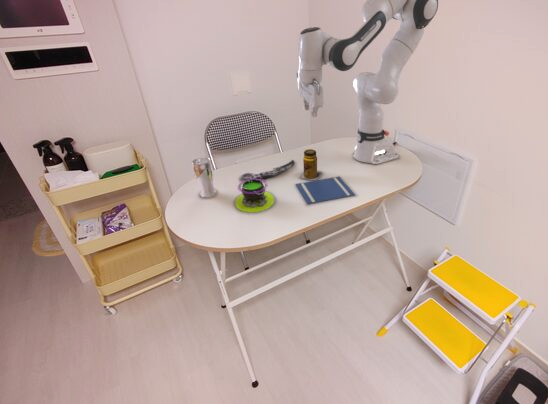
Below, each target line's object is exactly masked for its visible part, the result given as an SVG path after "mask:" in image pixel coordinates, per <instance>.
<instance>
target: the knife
mask: <svg viewBox="0 0 548 404" xmlns="http://www.w3.org/2000/svg"><path fill="white" fill-rule="evenodd" d="M293 166H295V160H293V159H292V160H290V161H289V162H287V163H286V164H283V165H281V166H277V167H273V170H268V171H262V172H259V173H255V174H254V173H252V172H246V173H243V174H241V175H240V179H241V181H242V180H243V181H245V180H248V181H249V180H250V179H255V180H256V179H257V180H258V179H260V180H263V179H267V178H270V177H272V178H273V177H275V176H277V175H278V174H281V173H284V172H285V171H286V170H287V169H289V168H293ZM251 174H252V175H251ZM253 174H254V175H253ZM247 176H249V177H247ZM259 176H260V177H259ZM245 177H246V178H245ZM256 177H257V178H256ZM243 178H244V179H243Z"/></svg>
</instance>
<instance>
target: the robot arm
mask: <svg viewBox="0 0 548 404" xmlns="http://www.w3.org/2000/svg"><path fill="white" fill-rule="evenodd" d="M361 7H362V8H361V18H362V21H363V24H362V25H361V26H360V27H359V29H357V31H355V32H354V33H353V35H351V36H350V37H347V38H337V37H334V36H331V35H330V34H327V33H326V32H324V31H323V30H322V28H321V27H320V26H319V27H318V26H317V27H316V26H315V27H314V26H313V27H307V28H304V29H303V30H301V31H300V33H299V37H298V58H299V65H298V71H297V72H296V79H297V88H298V95H299V97H300V98H302V102H303V109H304V110H305V111H309V110H310V106H311V109H312V111H311V117H312V118H316V117H318V111H319V109H320V108H323V106H324V88H323V86H322V85H321V83H322V82H323V66H324V65H326V66H328V67H331V68H334V69H335V70H338V71H340V72H347V71H349V70H351V69H352V68H353V67H354V66H355V65H356V64H357V62H358V60H359V58H360V56H361V55H362V54H363V52H364V51H365V50H366V49H367V48H368V46H370V45H371V43H373V41H374V40H375V39H376V38H377V37H378V36H379V35H380V34H381V32H382V31H383V30H384V29H385V27H386V24H388V23H389V22H390V21H391V20H393V19H394V20H397V21H400V25H399V28H398V30H397V31H396V33H394V35H393V36H392V38H391V40H390V41H389V43H388V44H387V46H386V47H385V49H384V50H383V51H382V53H381V55H380V58H379V59H380V60H379V61H380V66H379V69H378V71H377V73H374V72H372V71H363V72H359V73H358V74H357V75H356V76H355V77H354V80H353V89H354V91H355V94H356V96H357V103H358V109H359V110H358V111H359V118H358V119H359V121H358V128H357V133H356V134H357V135H356V146H355V147H354V153H353V155H352V157H353V158H354V159H355V160H356V161H358V162H362V163H367V164H372V165H380V164H383V163H386V162H390V161H393V160H397V159H399V154H398V152H396V150H395V146H394V145H396V144H397V143H398V142H397V141H394V142H392V141H391V140H389V139H388V138H387V137H388V136H389V135H390V132H389V131H387V130H385V129H383V125H384V118H385V113H384V111H383V109H382V106H381V105H390V104H392V103H393V102H394V101H395V100H396V99H397V97H398V95H399V84H398V83H399V79H400V76H401V74H402V72H403V70H404V68H405V67H406V65H407V63H408V62H409V60H410V59H411V57H412V55H414V53H415V52H416V50H417V48H418V47H419V44H420V42H421V41H422V39H423V36H424V33H425V30H424V29H425V28H426V27H427V26H428V25H429V24H430V23H431V22H432V20H433V19H434V17H435V16H436V14H437V12H438V9H439V0H366V1H365V2H364V3H363V4H362V6H361Z"/></svg>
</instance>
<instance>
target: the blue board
mask: <svg viewBox="0 0 548 404" xmlns="http://www.w3.org/2000/svg"><path fill="white" fill-rule="evenodd" d="M295 185H296V187H297V189H298V190H299V192H300V194H301V195H302V197H303V198H304V200H305V202H306V204H307V205H311V204H316V203H317V204H318V203H321V202H327V201H333V200H337V199H343V198H348V197H352V196H353V197H354V196H356V193H354V192H353V190H352V189H351V188H350V187H349V186H348V185H347V184H346V182H345V181H344V180H343V179H342V178H341V177H340V176H335V177H330V178H323V179H316V180H310V181H306V182H301V183H296V184H295Z"/></svg>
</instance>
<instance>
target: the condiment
mask: <svg viewBox="0 0 548 404" xmlns="http://www.w3.org/2000/svg"><path fill="white" fill-rule="evenodd" d="M302 160H303V162H302V165H303V174H302V175H301V177H300V179H304V180H310V181H317V180H318V178H319V177H320V176H321V174H322V173H323V171H318V156H317V151H316V150H315V149H310V148H309V149H308V148H307V149H305V150H304V152H303V158H302Z"/></svg>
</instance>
